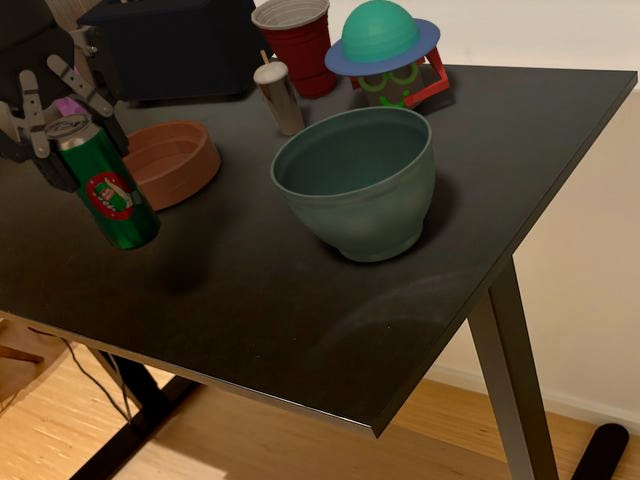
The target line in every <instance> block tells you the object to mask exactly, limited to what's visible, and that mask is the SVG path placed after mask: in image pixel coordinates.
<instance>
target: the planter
mask: <svg viewBox="0 0 640 480" xmlns="http://www.w3.org/2000/svg"><path fill="white" fill-rule="evenodd" d="M45 1H46V3H47V5H48V6H49V8H50V10H51V11H52V13H53V16H54V19H55V21H56V22H57V23H58V25H59V26H61V27H62V28H63V29H64V30H66V31H67V32H70V31H74V30H76V29H77V27H78V25H77V23H76V20H77V19H78V18H79V17H81V16H82V15H83V14H85V13H86V12H87V11H89V10H90V9H91V8H93V7H94V6H95V5H96V4H98V3H99V2H100V1H102V0H45ZM74 66H75V68H76V69H77V71H78V72H79V74H80V76H81V77H82V78H83V79H84V80H85V81H86V82H87V83H89V84H90V85H91V86H92V87H93V88H94V89H95V90H96V87H95V84H94V82H93V79H92V76H91V73H90V70H89V68H88V65H87V62H86V59H85V56H84V55H81V54H80V53H79V52H78V50H77V48H76V47H75V57H74Z"/></svg>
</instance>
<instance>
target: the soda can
mask: <svg viewBox="0 0 640 480" xmlns="http://www.w3.org/2000/svg"><path fill="white" fill-rule="evenodd" d="M45 133H46V137H47V141H48V145H49V148H50V151H51V152H54V153H56V154H57V156H58V157H59V159H60V160H61V162H62V163H63V165H64V166H65V168H66V169H67V170H68V172H69V173H70V175H71V176H72V178H73V179H74V181H75V182H76V184H77V185H78V187H79V189H78V190H76V191H75V192H74V194H75V195H76V196H77V198H78V200H79V201H80V202H81V204H82V205H83V207H84V208H85V210H86V211H87V212H88V214H89V216H90V217H91V218H92V220H93V221H94V223H95V224H96V226H97V227H98V229H99V230H100V232H101V233H102V235H103V236H104V237H105V239H106V240H107V242H108V244H110V246H111V247H112V248H115V249H118V250H121V251H133V250H134V251H135V250H139V249H140V248H143V247H145V246H147V245H148V244H150V243H151V242H153V241H154V240H156V238H157V236H158V235H159V233H160V230H161V226H162V222H161V219H160V218H159V216H158V215H157V213H156V211H154V210H153V208H152V206H151V205H150V203H149V201H148V200H147V198H146V196H145V195H144V193H143V191H142V190H141V188H140V186H139V185H138V183H137V181H136V180H135V178H134V177H133V175H132V173H131V172H130V170H129V168H128V167H127V165H126V163H125V162H124V160H123V158H122V157H121V155H120V153H119V152H118V150H117V148H116V147H115V145H114V144H113V142H112V140H111V139H110V137H109V135H108V134H107V132H106V130H105V129H104V127H103V125H102V124H101V123H99V122H98V121H96V120H94V119H93V118H92V116H91V114H90V113H75V114H70V115H67V116H62V117H60V118H58V119H55V120H54V121H53V122H51V123H50V124H47V125H46V128H45Z"/></svg>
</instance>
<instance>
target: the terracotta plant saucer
mask: <svg viewBox="0 0 640 480" xmlns="http://www.w3.org/2000/svg"><path fill="white" fill-rule="evenodd" d="M126 136H127V138H128V139H129V144H130V146H128V147H127V148H128V150H129V152H130V154H129V155H127V156H126V157H124V158H123V160H124V162H125V163H126V165H127V167H128V168H129V170H130V172H131V173H132V175H133V177H134V178H135V180H136V181H137V183H138V185H139V186H140V188H141V190H142V191H143V193H144V195H145V196H146V198H147V200H148V201H149V203H150V205H151V206H152V208H153V210H154V211H155V212H157V211H160V210H163V209H167V208H170V207H173V206H175V205H177V204H179V203H181V202H183V201H185V200H187V199H188V198H190V197H191V196H193V195H195V194H197V192H199V191H200V190H201V189H202V188H203V187H205V186H207V184H209V183H210V182H211V180H212V179H213V178H214V176H216V175H217V173H218V171H219V168H220V167H221V166H220V165H221V163H222V160H221V155H220V152H219V149H218V148H217V146H216V144H215V143H214V141H213V140H214V139H213V138H212V137H211V134H210V133H209V131H208V128H207V127H206V126H204V125H203V124H202V123H200V122H199V121H195V120H191V119H190V120H189V119H172V120H168V121H164V122H163V121H162V122H158V123H154V124H151V125H147V126H146V127H143V128H140V129H137V130H135V131H132V132H131V133H129V134H126Z"/></svg>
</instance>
